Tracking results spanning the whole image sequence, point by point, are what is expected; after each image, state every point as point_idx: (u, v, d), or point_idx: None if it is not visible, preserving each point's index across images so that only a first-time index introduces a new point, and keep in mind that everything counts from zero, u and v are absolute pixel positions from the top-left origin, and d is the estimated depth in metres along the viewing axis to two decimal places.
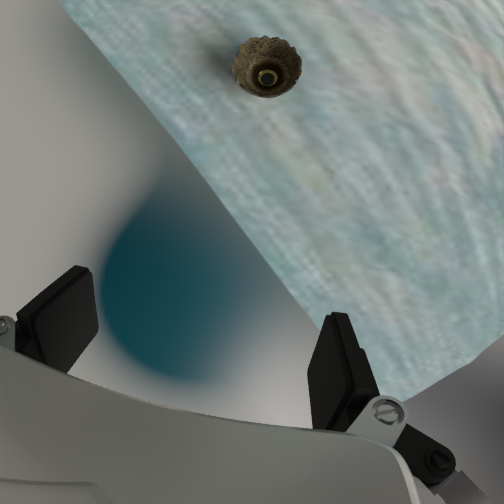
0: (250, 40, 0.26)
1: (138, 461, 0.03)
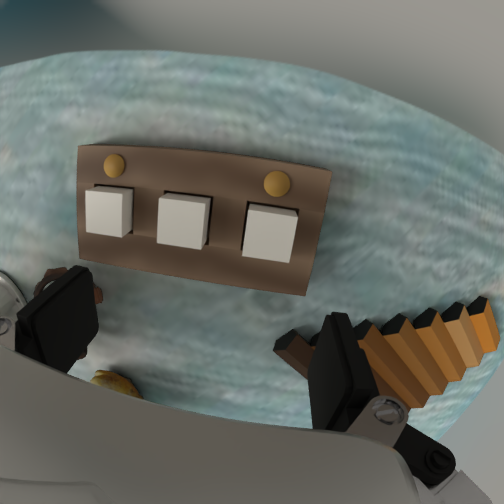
0: None
1: (138, 461, 0.03)
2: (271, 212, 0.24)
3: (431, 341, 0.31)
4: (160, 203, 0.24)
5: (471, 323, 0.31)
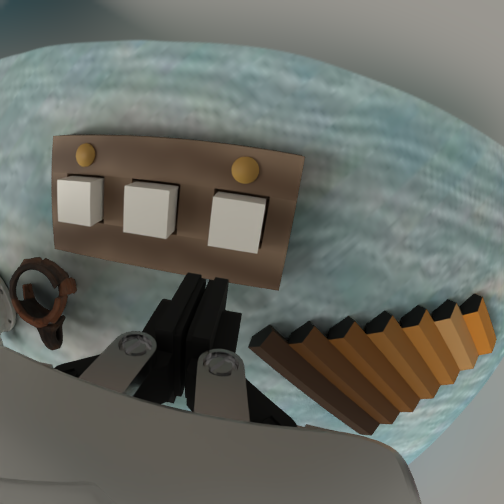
0: None
1: (138, 461, 0.03)
2: (237, 199, 0.23)
3: (420, 341, 0.30)
4: (126, 191, 0.23)
5: (464, 322, 0.29)
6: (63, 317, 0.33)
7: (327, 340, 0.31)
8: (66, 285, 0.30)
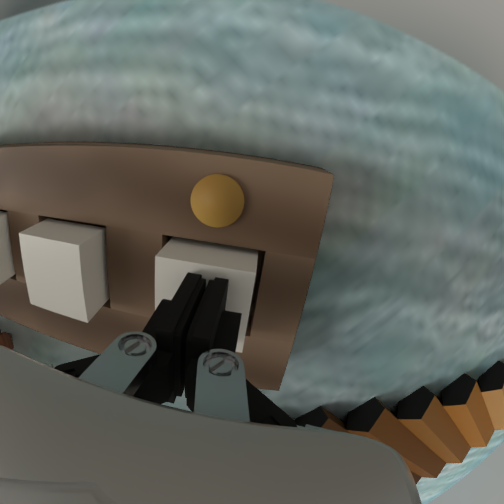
0: None
1: (138, 461, 0.03)
2: (201, 261, 0.12)
3: (461, 416, 0.18)
4: (21, 242, 0.11)
5: None
6: None
7: (345, 430, 0.19)
8: None
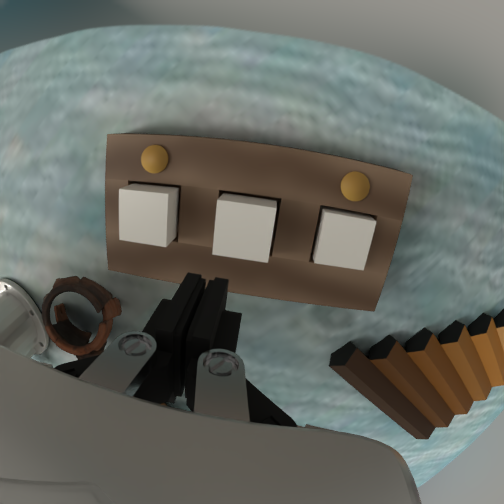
0: None
1: (138, 461, 0.03)
2: (348, 215, 0.21)
3: (484, 347, 0.26)
4: (219, 206, 0.20)
5: None
6: None
7: (406, 353, 0.28)
8: (111, 307, 0.28)
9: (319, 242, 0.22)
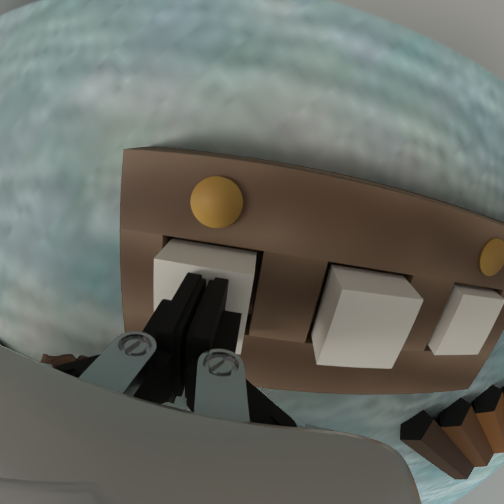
0: None
1: (138, 461, 0.03)
2: (482, 295, 0.13)
3: None
4: (343, 299, 0.12)
5: None
6: None
7: (475, 414, 0.20)
8: None
9: (446, 331, 0.14)
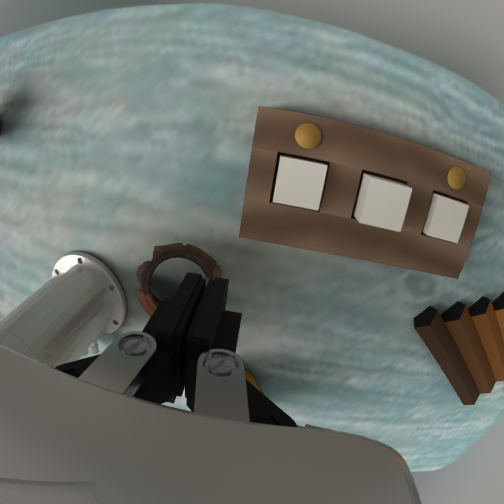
0: None
1: (138, 461, 0.03)
2: (452, 199, 0.23)
3: None
4: (371, 182, 0.23)
5: None
6: None
7: (470, 317, 0.30)
8: (217, 274, 0.31)
9: (432, 218, 0.24)
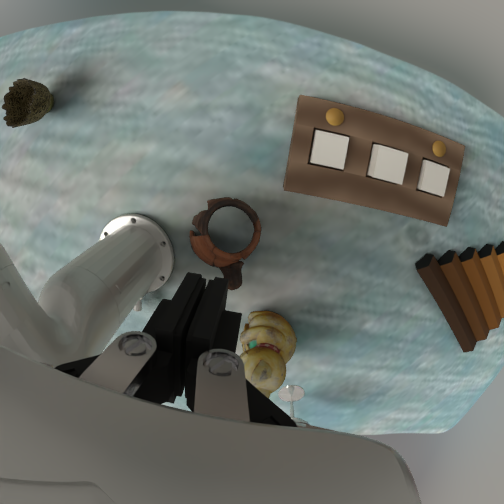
0: (30, 105, 0.28)
1: (138, 461, 0.03)
2: (437, 164, 0.32)
3: None
4: (380, 148, 0.31)
5: None
6: None
7: (460, 262, 0.39)
8: (258, 222, 0.38)
9: (423, 177, 0.33)
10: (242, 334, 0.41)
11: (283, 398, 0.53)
